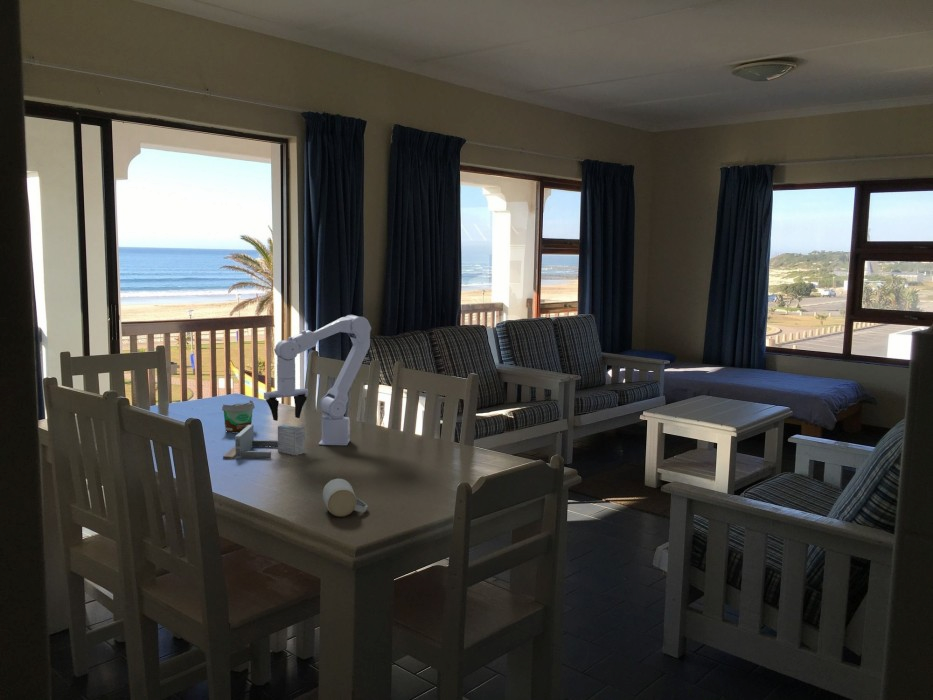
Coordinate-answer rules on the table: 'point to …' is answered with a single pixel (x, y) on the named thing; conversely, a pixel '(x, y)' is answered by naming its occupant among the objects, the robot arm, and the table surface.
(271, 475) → the table surface
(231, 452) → the threshold strip
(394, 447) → the table surface
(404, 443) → the table surface
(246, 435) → the door panel
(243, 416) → the food container
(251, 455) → the keeper cleats
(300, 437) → the medicine box
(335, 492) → the ceramic mug
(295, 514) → the table surface
